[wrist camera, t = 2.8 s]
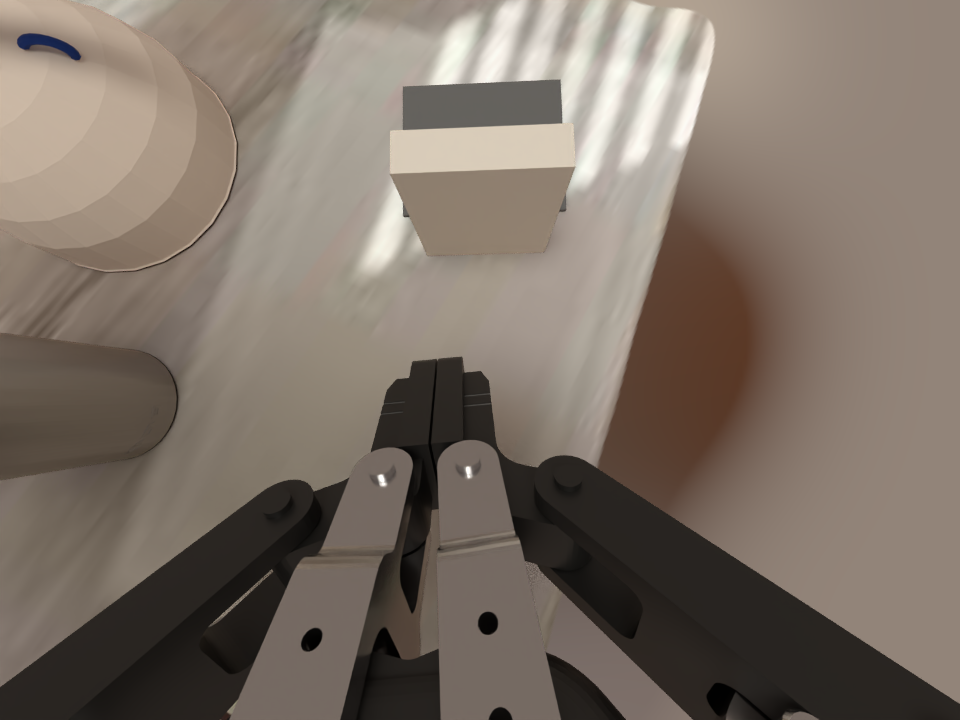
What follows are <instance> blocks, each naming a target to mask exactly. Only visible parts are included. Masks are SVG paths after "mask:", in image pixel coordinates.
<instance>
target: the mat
mask: <svg viewBox="0 0 960 720" xmlns="http://www.w3.org/2000/svg"><path fill="white" fill-rule="evenodd" d="M539 124H562V104H561V82H560V80H540V81H518V82H496V83H474V84H452V85H429V86H407V87H403V130H419V129H443V128H467V127H491V126H515V125H539ZM559 211H566V194H565V196H564V199H563V202H562V205H561V207H560V210H559ZM403 216H404V217H410V216H409V214H408V212H407V210H406V208H405V205H404V203H403Z"/></svg>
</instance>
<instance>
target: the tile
mask: <svg viewBox="0 0 960 720" xmlns="http://www.w3.org/2000/svg"><path fill="white" fill-rule="evenodd" d="M574 169H575V149H574V128H573V123H563V124H539V125H515V126H491V127H467V128H443V129H419V130H395V131H390V175H391V177H392V179H393V181H394V184H395V186H396V188H397V190H398V192H399V195H400V197H401V199H402V201H403V203H404V205H405V208H406V210H407V212H408V214H409V216H410V219H411V221H412V223H413V225H414V227H415V230H416V232H417V234H418V236H419V238H420V241H421V243H422V245H423V247H424V249H425V251H426V254H427V256H446V255H478V254H509V253H540V252H544V251H545V249H546V246H547V243H548V240H549V238H550V235H551V232H552V229H553V227H554V224H555V221H556V218H557V216H558V213H559V210H560V207H561V205H562V202H563V199H564V196H565V194H566V191H567V188H568V185H569V183H570V180H571V177H572V174H573V172H574Z"/></svg>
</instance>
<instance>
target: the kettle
mask: <svg viewBox="0 0 960 720" xmlns="http://www.w3.org/2000/svg"><path fill="white" fill-rule="evenodd" d="M236 146H237V142H236V138H235V135H234V131H233V127H232V123H231V119H230V116H229V114H228V113H227V111H226V109H225V108H224V106H223V104H222V103H221V101H220V99H219V98H218V96H217V94H216V93H215V92H214V91H212V90H211V89H210V88H209V87H208V86H207V85H206V84H205V83H204V82H203V81H201V80H200V79H199V78H198V77H197V76H195V75H193V74H192V73H191V72H190V71H189V70H188V69H187V68H186V67H185V66H184V65H183V64H182V63H180V62H179V61H178V60H177V59H176V58H175V57H174V56H173V55H172V54H171V53H170V52H168V51H167V50H166V49H165V48H164V47H163V46H162V45H161V44H160V43H159V42H157V41H156V40H155V39H154V38H152V37H150V36H148V35H146V34H145V33H143V32H141V31H139V30H137V29H135V28H134V27H132V26H130V25H128V24H126V23H125V22H123V21H121V20H119V19H117V18H115V17H113V16H111V15H109V14H107V13H105V12H103V11H101V10H99V9H97V8H95V7H92V6H88V5H84V4H80V3H76V2H72V1H68V0H0V229H1V230H3V231H5V232H7V233H8V234H10V235H12V236H14V237H16V238H17V239H19V240H21V241H23V242H25V243H27V244H30V245H32V246H34V247H37V248H39V249H42V250H44V251H47V252H49V253H52V254H54V255H56V256H59V257H61V258H64V259H66V260H69V261H70V262H72V263H74V264H76V265H78V266H82V267H86V268H91V269H95V270H100V271H104V272H114V271H134V270H138V269H142V268H145V267H148V266H151V265H154V264H158V263H161V262H164V261H166V260H167V259H169V258H171V257H172V256H174V255H176V254H177V253H179V252H181V251H182V250H184V249H185V248H187V247H189V246H190V245H192V244H193V243H194V242H195V241H196V240H197V239H198V238H199V237H200V236H201V235H202V234H203V233H204V232H205V231H206V230H207V229H208V228H209V227H210V226H211V225H212V223H213V222H214V220H215V218H216V217H217V215H218V213H219V212H220V210H221V208H222V207H223V205H224V203H225V202H226V200H227V198H228V195H229V192H230V188H231V185H232V182H233V178H234V175H235V172H236Z"/></svg>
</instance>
